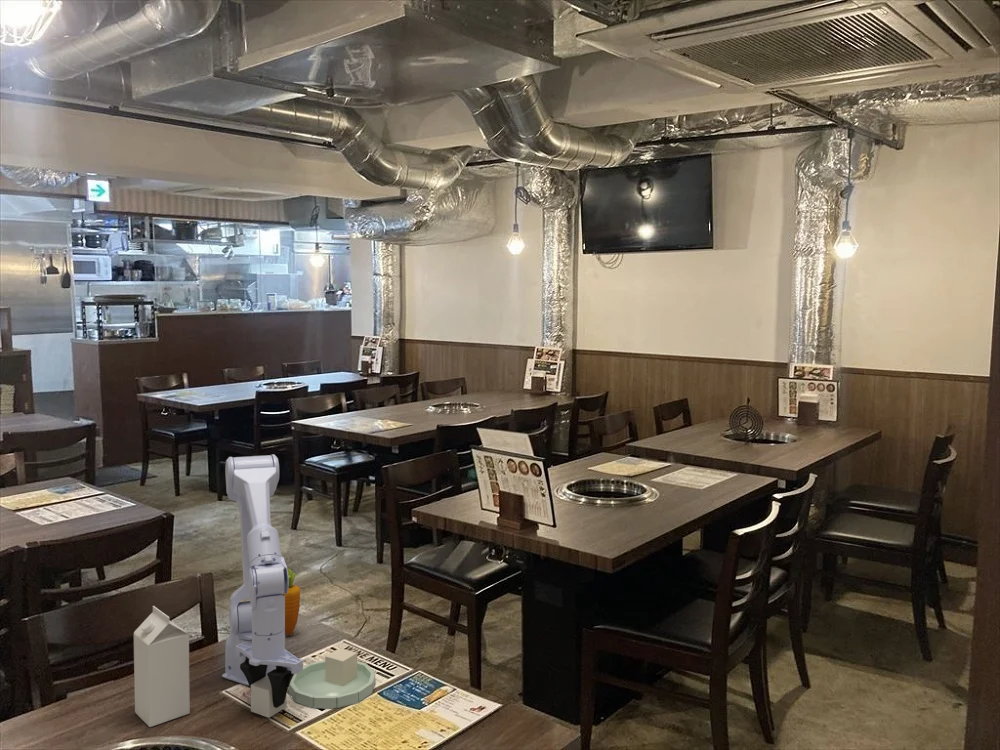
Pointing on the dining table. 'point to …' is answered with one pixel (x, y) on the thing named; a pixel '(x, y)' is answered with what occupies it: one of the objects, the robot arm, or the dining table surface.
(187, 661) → the milk carton
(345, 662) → the beige stone block
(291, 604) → the carrot
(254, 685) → the grey stone block
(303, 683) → the serving bowl
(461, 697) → the dining table surface
